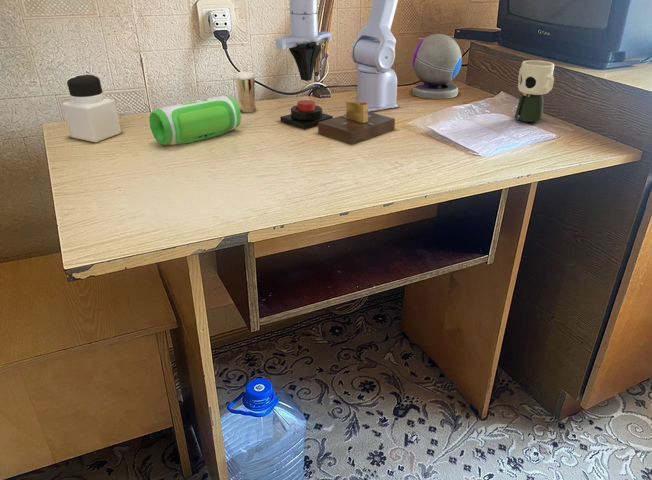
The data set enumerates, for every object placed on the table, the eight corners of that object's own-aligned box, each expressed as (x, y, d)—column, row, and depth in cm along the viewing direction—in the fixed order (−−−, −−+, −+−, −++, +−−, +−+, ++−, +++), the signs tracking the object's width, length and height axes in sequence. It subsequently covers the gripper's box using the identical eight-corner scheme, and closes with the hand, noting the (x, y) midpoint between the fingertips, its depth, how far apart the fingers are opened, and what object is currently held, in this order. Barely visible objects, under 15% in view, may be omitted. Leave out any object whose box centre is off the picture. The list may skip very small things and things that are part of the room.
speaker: (225, 125, 122) (221, 91, 118) (244, 133, 118) (241, 97, 114) (151, 142, 112) (144, 105, 108) (169, 151, 107) (162, 113, 103)
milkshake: (260, 107, 135) (257, 65, 130) (254, 113, 130) (251, 70, 125) (242, 106, 135) (238, 64, 130) (236, 113, 131) (231, 69, 125)
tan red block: (346, 118, 120) (346, 99, 118) (351, 117, 121) (351, 98, 119) (363, 123, 117) (363, 104, 115) (368, 121, 118) (368, 103, 116)
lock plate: (361, 120, 127) (361, 108, 126) (394, 129, 122) (395, 117, 120) (318, 133, 119) (317, 121, 117) (351, 144, 113) (352, 131, 112)
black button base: (309, 114, 131) (308, 101, 129) (332, 121, 126) (332, 108, 125) (280, 121, 125) (279, 108, 124) (304, 129, 121) (303, 116, 119)
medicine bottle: (122, 133, 116) (109, 74, 110) (95, 143, 111) (80, 82, 104) (97, 128, 119) (83, 71, 112) (70, 137, 113) (54, 78, 107)
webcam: (419, 85, 157) (423, 29, 150) (463, 90, 153) (469, 32, 145) (404, 95, 147) (408, 35, 139) (450, 101, 143) (457, 40, 135)
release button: (306, 106, 127) (306, 98, 126) (318, 110, 125) (318, 102, 124) (294, 109, 124) (293, 102, 123) (306, 113, 122) (305, 105, 121)
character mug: (501, 116, 133) (510, 59, 126) (524, 112, 135) (534, 57, 128) (531, 128, 124) (543, 69, 117) (555, 125, 127) (567, 66, 120)
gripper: (290, 18, 107) (294, 88, 115) (341, 11, 117) (341, 77, 124) (267, 14, 111) (272, 82, 119) (318, 8, 121) (319, 72, 128)
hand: (306, 79), depth 121 cm, fingers closed
